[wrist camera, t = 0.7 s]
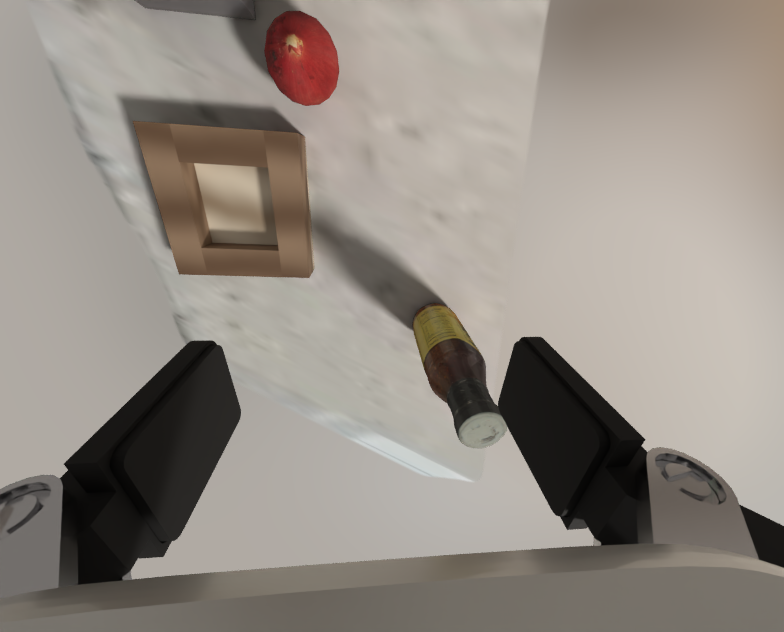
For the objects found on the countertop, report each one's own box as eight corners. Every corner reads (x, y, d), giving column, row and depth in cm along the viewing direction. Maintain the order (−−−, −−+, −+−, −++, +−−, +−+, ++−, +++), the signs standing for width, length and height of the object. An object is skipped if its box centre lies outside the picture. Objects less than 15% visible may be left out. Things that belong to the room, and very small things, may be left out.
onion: (287, 114, 28) (260, 95, 21) (272, 36, 25) (234, -16, 18) (346, 110, 28) (338, 90, 21) (336, 32, 26) (324, -21, 18)
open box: (159, 126, 28) (132, 121, 25) (304, 136, 29) (297, 132, 26) (196, 264, 34) (179, 274, 31) (314, 268, 35) (309, 277, 32)
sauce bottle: (452, 338, 42) (512, 461, 24) (410, 339, 41) (441, 465, 24) (457, 297, 39) (531, 404, 21) (412, 298, 38) (448, 408, 21)
